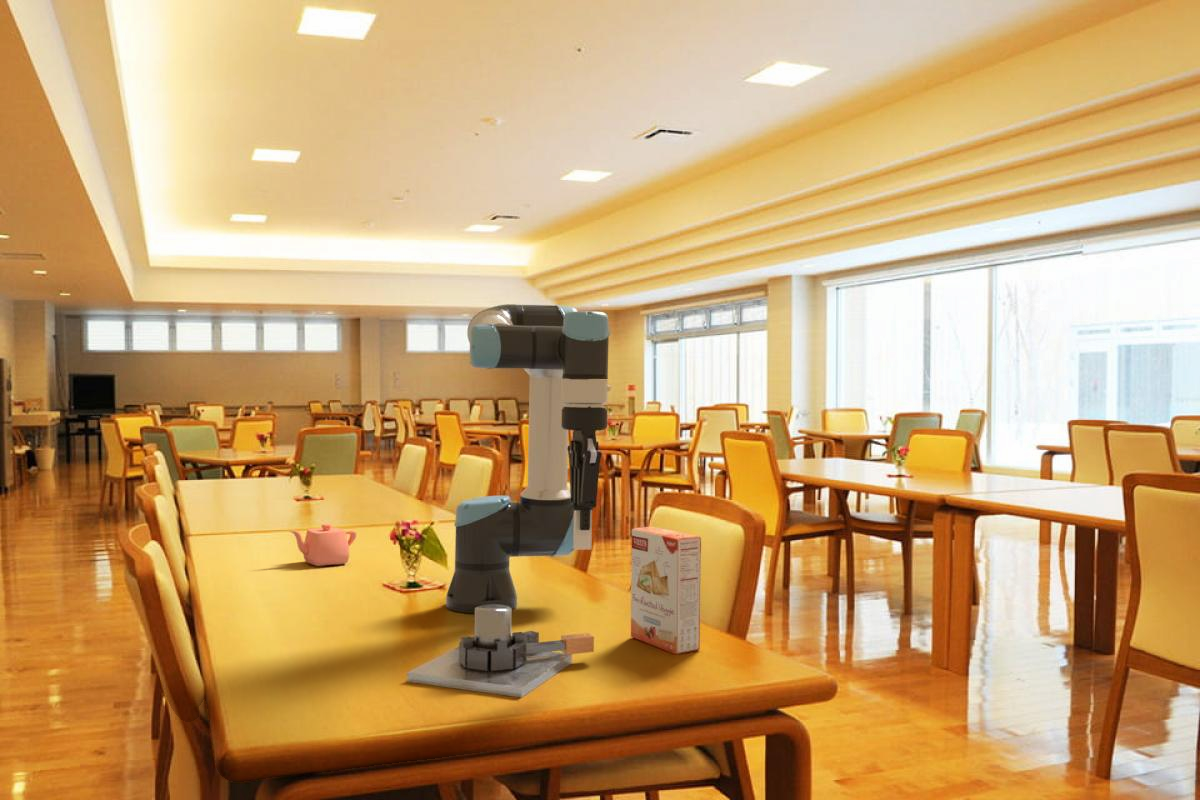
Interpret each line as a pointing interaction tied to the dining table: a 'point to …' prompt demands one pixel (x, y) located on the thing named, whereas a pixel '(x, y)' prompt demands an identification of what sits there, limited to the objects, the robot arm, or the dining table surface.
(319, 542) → the teapot
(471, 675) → the flange plate
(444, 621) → the dining table surface
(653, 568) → the cracker box
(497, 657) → the wrench
